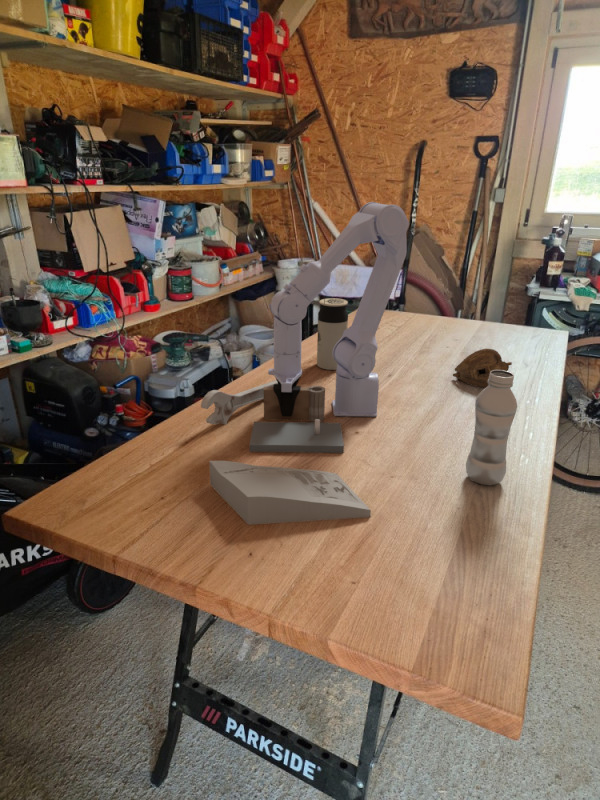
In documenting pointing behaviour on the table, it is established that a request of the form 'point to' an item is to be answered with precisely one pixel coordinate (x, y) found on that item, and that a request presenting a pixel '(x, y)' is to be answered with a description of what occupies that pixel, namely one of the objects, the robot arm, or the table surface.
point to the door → (297, 405)
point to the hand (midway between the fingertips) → (287, 410)
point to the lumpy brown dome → (480, 367)
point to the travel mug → (330, 330)
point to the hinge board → (297, 437)
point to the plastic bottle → (492, 429)
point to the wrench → (231, 402)
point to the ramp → (284, 493)
